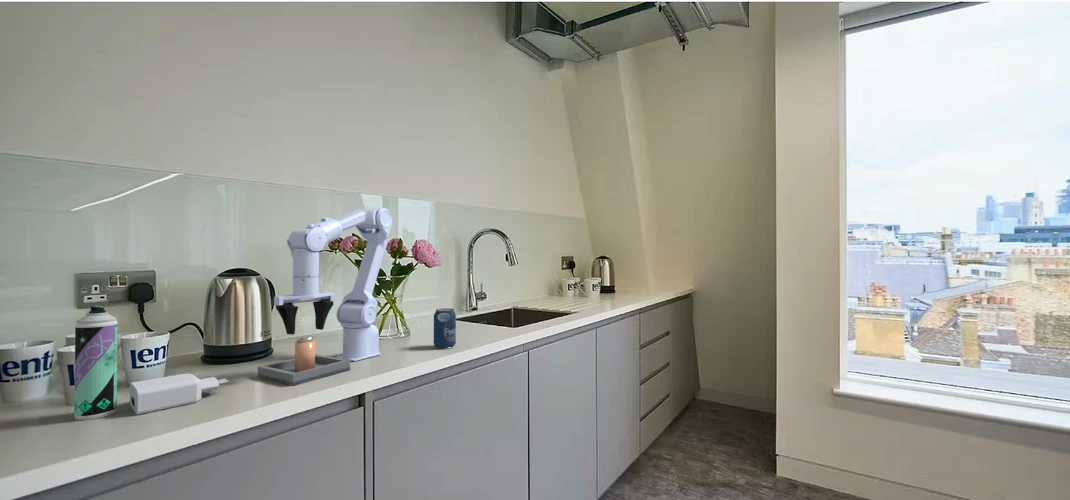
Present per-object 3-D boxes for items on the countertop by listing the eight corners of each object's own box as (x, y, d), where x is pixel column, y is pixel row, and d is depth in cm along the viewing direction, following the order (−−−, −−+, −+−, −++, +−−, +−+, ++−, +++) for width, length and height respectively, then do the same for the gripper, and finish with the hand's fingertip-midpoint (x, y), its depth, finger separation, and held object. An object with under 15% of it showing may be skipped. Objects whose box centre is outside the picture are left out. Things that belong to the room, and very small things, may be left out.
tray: (315, 363, 117) (315, 354, 117) (350, 370, 110) (350, 360, 110) (257, 377, 103) (257, 366, 103) (293, 385, 97) (293, 374, 97)
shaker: (308, 366, 110) (308, 334, 110) (318, 369, 108) (319, 336, 108) (290, 371, 106) (291, 337, 106) (301, 373, 104) (301, 339, 104)
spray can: (75, 414, 79) (76, 305, 80) (116, 407, 83) (117, 303, 83) (73, 422, 75) (74, 308, 76) (116, 414, 79) (118, 306, 79)
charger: (233, 396, 90) (137, 417, 79) (220, 387, 96) (129, 405, 85) (233, 373, 90) (137, 391, 79) (221, 366, 96) (129, 381, 85)
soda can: (449, 350, 133) (449, 311, 133) (429, 348, 135) (429, 310, 135) (459, 345, 140) (459, 308, 140) (440, 344, 142) (440, 307, 142)
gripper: (322, 275, 115) (321, 325, 115) (266, 277, 102) (266, 334, 102) (339, 275, 112) (339, 328, 112) (284, 278, 99) (284, 337, 99)
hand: (305, 331), depth 107 cm, fingers open, 7 cm apart
